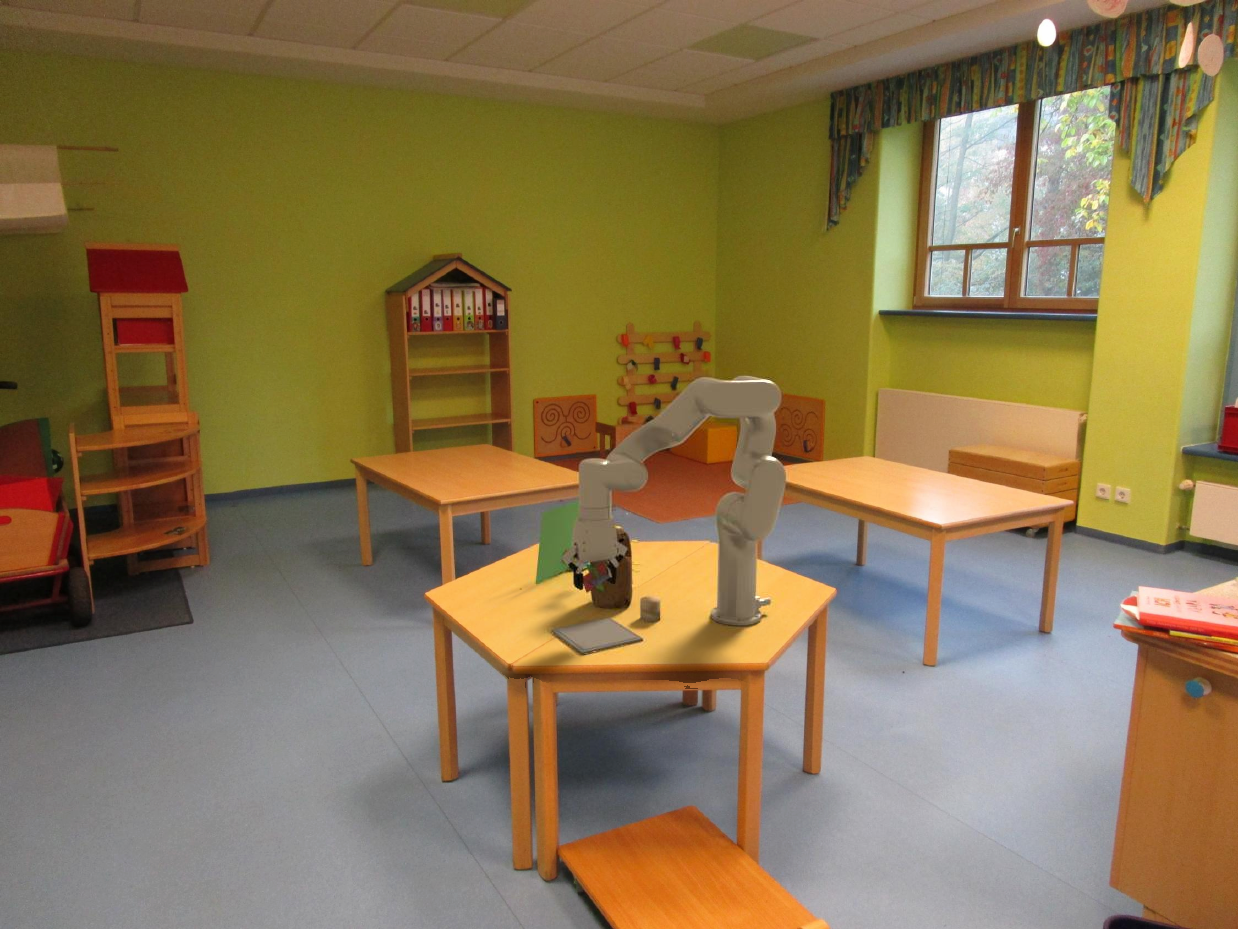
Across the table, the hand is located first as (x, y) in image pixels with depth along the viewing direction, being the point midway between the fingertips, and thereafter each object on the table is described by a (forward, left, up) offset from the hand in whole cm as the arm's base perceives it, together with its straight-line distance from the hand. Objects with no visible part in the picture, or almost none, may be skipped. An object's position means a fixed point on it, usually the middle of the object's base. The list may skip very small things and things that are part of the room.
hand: (595, 585), depth 205 cm
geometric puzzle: (0, 0, -2) cm, 2 cm away
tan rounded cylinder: (-17, -3, -13) cm, 22 cm away
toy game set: (-19, -35, -13) cm, 42 cm away
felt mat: (0, 0, -13) cm, 13 cm away
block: (-14, -17, -13) cm, 26 cm away
